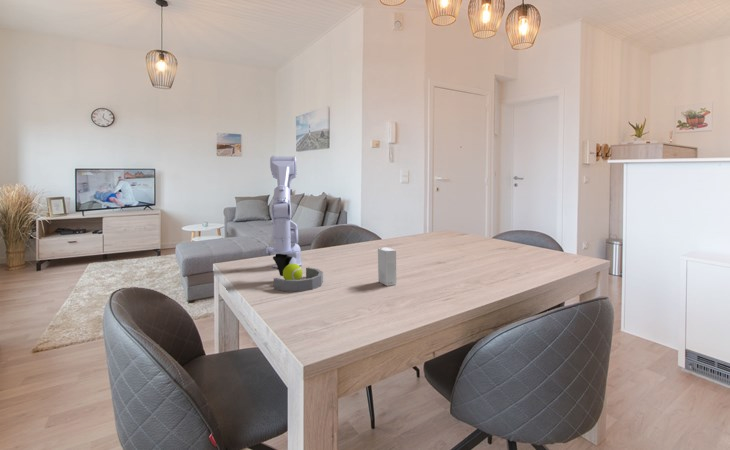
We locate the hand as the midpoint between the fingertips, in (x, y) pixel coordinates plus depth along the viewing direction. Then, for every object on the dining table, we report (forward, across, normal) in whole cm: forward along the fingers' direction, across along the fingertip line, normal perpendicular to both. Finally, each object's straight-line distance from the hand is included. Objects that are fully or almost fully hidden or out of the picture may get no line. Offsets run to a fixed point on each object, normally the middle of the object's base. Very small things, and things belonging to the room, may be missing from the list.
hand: (283, 275), depth 132 cm
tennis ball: (+2, +4, 0) cm, 5 cm away
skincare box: (+2, +32, +17) cm, 37 cm away
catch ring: (+2, +10, 0) cm, 10 cm away
